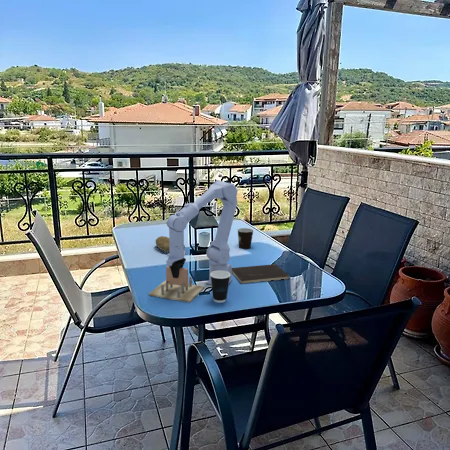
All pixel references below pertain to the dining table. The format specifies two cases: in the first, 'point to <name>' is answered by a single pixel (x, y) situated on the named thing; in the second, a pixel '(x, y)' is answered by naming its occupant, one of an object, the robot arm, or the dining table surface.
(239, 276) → the hardcover book
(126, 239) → the dining table surface
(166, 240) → the sponge
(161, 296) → the dish rack
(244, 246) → the coffee mug
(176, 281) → the brown rectangular block
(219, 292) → the dixie cup
